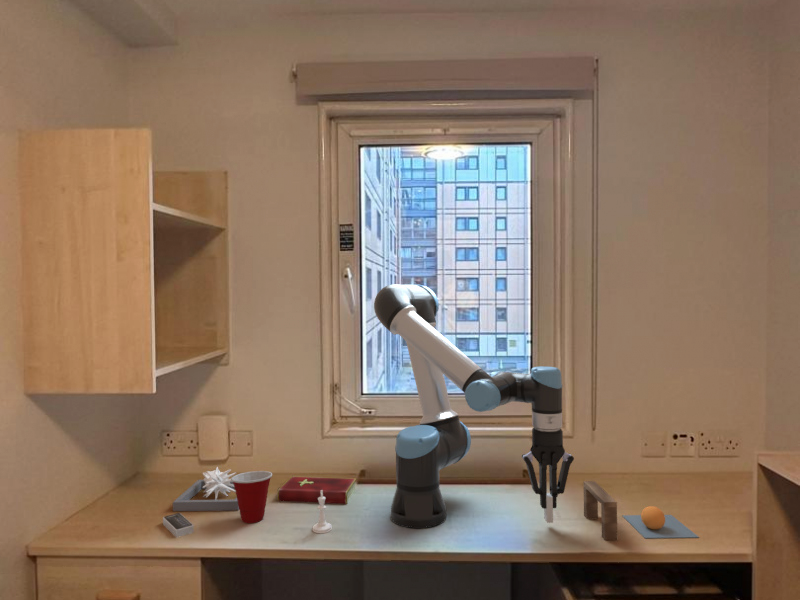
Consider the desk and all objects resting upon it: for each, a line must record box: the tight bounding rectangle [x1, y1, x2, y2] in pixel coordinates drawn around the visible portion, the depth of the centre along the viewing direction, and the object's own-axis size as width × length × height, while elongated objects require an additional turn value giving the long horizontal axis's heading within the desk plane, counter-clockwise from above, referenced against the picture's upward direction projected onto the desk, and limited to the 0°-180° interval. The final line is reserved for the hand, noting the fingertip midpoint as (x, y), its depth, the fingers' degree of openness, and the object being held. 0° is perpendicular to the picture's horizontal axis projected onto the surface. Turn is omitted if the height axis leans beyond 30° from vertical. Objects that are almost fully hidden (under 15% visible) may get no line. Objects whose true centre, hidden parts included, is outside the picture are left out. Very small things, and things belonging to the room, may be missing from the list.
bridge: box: [583, 480, 618, 541], centre depth 133 cm, size 3×14×9 cm, turn 0°
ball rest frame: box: [172, 479, 240, 512], centre depth 156 cm, size 18×18×2 cm
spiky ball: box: [202, 466, 237, 500], centre depth 159 cm, size 11×12×8 cm
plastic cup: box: [230, 470, 273, 524], centre depth 141 cm, size 11×11×12 cm
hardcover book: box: [277, 475, 357, 505], centre depth 158 cm, size 12×21×4 cm, turn 82°
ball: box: [640, 505, 665, 530], centre depth 131 cm, size 6×6×6 cm
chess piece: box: [312, 490, 333, 534], centre depth 134 cm, size 5×5×10 cm
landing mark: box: [622, 514, 700, 539], centre depth 133 cm, size 13×13×1 cm
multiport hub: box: [162, 512, 194, 538], centre depth 136 cm, size 4×11×2 cm, turn 41°
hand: (548, 520), depth 133 cm, fingers closed
